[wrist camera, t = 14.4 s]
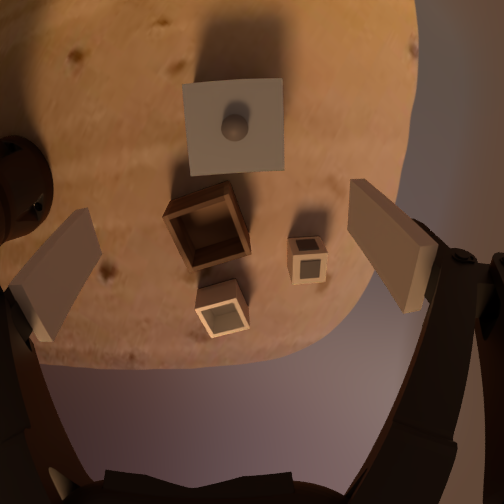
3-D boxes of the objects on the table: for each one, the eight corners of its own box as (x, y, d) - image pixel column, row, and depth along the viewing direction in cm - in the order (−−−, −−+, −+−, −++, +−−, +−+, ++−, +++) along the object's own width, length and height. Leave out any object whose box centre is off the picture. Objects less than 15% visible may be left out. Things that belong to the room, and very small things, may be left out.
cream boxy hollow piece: (287, 237, 42) (293, 254, 38) (319, 235, 42) (328, 252, 38) (287, 266, 45) (292, 285, 40) (317, 263, 45) (325, 282, 41)
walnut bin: (170, 201, 38) (162, 217, 34) (229, 180, 38) (228, 193, 33) (193, 252, 42) (189, 272, 38) (249, 235, 42) (251, 254, 37)
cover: (193, 84, 31) (179, 84, 23) (272, 79, 32) (284, 77, 24) (199, 157, 36) (189, 180, 28) (274, 153, 36) (286, 173, 28)
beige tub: (197, 289, 46) (194, 309, 42) (235, 278, 45) (236, 297, 41) (212, 317, 49) (211, 338, 45) (248, 308, 48) (250, 328, 44)
